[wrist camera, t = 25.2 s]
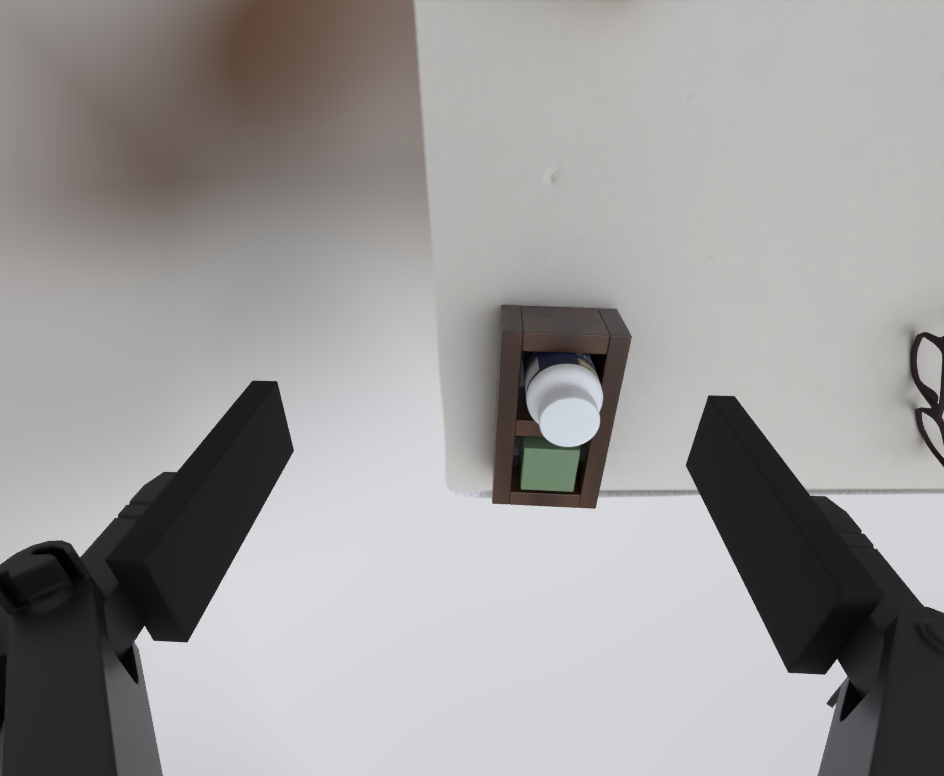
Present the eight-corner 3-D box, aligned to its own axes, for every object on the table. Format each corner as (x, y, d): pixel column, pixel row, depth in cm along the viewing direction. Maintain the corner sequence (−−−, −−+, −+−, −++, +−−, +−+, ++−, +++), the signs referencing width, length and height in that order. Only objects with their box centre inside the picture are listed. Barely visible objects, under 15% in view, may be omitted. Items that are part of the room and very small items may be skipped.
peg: (518, 448, 45) (520, 489, 40) (521, 409, 43) (524, 448, 38) (565, 450, 45) (573, 492, 40) (571, 411, 43) (580, 450, 38)
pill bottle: (598, 335, 39) (626, 401, 30) (573, 390, 42) (592, 464, 33) (535, 317, 38) (545, 379, 30) (514, 374, 41) (517, 445, 33)
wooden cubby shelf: (492, 466, 46) (492, 504, 42) (501, 304, 38) (502, 331, 34) (586, 470, 46) (595, 509, 42) (616, 308, 38) (632, 336, 33)
